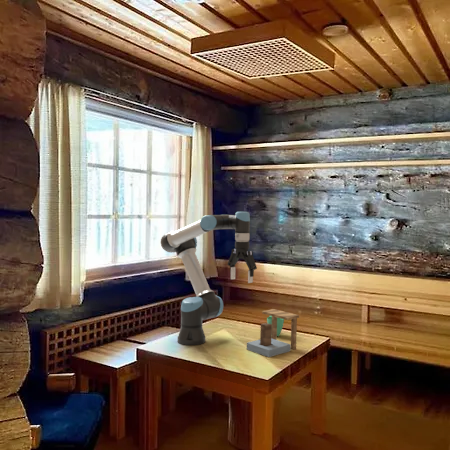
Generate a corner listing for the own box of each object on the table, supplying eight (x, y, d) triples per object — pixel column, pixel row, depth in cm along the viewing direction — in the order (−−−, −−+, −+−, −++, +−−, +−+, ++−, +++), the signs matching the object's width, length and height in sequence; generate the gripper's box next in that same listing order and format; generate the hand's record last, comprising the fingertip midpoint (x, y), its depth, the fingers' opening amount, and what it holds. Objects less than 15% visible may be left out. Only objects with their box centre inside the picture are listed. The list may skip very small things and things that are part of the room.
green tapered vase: (286, 337, 281) (286, 320, 281) (270, 338, 279) (270, 320, 278) (277, 330, 295) (277, 313, 295) (261, 331, 293) (262, 314, 292)
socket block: (246, 349, 258) (246, 342, 258) (268, 343, 268) (268, 337, 268) (268, 357, 246) (268, 350, 245) (290, 351, 256) (290, 344, 256)
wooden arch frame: (261, 344, 266) (262, 311, 265) (273, 341, 272) (273, 308, 271) (286, 353, 253) (287, 317, 252) (298, 349, 259) (299, 315, 258)
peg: (260, 350, 256) (260, 324, 255) (265, 349, 258) (266, 322, 258) (265, 352, 253) (266, 325, 252) (271, 351, 255) (271, 324, 255)
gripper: (221, 239, 268) (220, 278, 269) (253, 243, 249) (252, 285, 251) (231, 238, 273) (231, 277, 274) (264, 242, 254) (263, 283, 255)
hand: (241, 281), depth 262 cm, fingers open, 13 cm apart
